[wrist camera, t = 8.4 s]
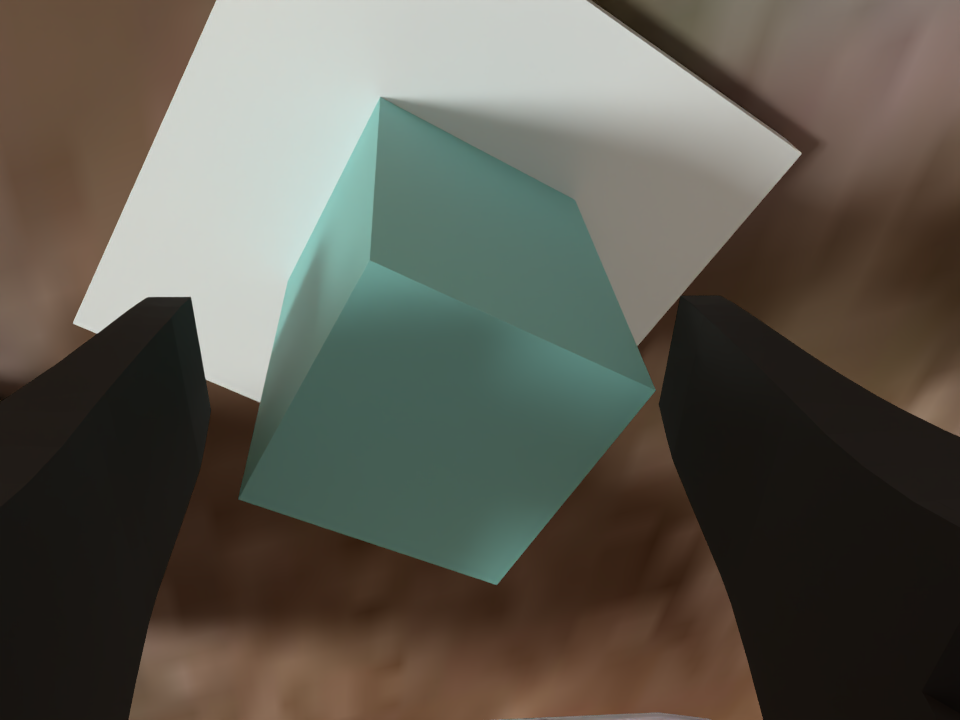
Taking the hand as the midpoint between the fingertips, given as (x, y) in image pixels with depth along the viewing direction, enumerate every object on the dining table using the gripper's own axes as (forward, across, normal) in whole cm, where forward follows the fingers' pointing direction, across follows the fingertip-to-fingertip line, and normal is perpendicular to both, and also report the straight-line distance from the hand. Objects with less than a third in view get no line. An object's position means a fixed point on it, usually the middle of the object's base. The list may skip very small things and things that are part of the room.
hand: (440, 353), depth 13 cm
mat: (+5, 0, 0) cm, 5 cm away
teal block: (+4, 0, 0) cm, 4 cm away
